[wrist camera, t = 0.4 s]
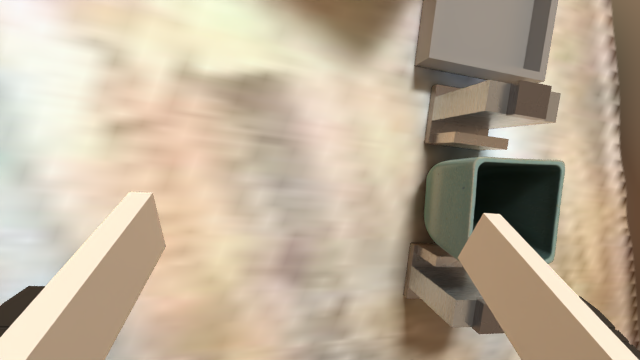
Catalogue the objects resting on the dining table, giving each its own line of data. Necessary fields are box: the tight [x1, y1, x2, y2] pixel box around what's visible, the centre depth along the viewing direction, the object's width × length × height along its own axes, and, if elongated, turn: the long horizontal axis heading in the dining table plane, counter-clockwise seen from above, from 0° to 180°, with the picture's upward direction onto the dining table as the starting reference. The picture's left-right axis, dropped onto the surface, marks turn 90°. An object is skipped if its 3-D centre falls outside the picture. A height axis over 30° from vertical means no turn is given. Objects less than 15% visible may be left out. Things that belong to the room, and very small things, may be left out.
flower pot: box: [424, 157, 565, 264], centre depth 26 cm, size 9×9×9 cm
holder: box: [403, 80, 561, 334], centre depth 26 cm, size 23×7×9 cm, turn 174°
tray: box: [415, 0, 558, 84], centre depth 28 cm, size 14×14×2 cm
